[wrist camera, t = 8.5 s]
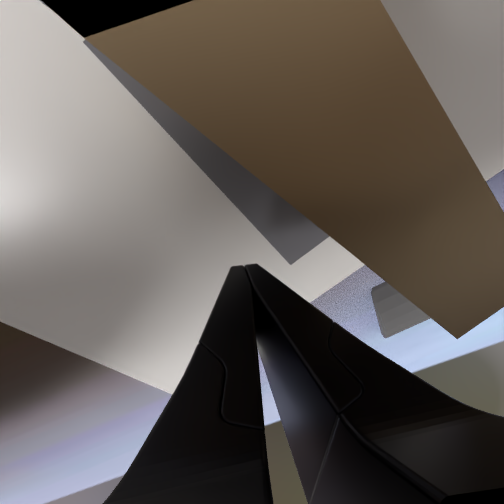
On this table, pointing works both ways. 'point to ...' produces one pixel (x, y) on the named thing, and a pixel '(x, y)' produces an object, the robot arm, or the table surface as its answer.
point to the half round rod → (395, 310)
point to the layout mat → (174, 189)
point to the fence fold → (324, 130)
